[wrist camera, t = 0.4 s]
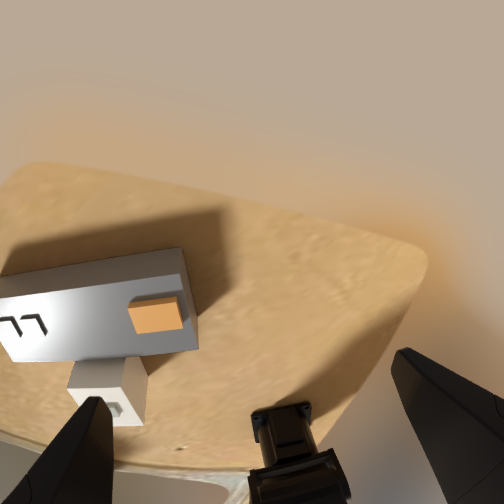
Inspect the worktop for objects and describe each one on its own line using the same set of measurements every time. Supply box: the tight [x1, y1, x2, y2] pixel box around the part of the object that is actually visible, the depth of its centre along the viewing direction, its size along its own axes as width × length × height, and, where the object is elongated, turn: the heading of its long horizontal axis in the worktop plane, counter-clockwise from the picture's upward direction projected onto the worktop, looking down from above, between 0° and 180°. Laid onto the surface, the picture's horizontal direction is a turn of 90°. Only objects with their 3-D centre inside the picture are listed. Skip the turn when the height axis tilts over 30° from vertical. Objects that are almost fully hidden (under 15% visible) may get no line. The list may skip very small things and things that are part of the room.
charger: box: [67, 356, 148, 426], centre depth 21 cm, size 8×4×6 cm, turn 5°
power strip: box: [0, 247, 199, 362], centre depth 19 cm, size 6×16×4 cm, turn 95°
